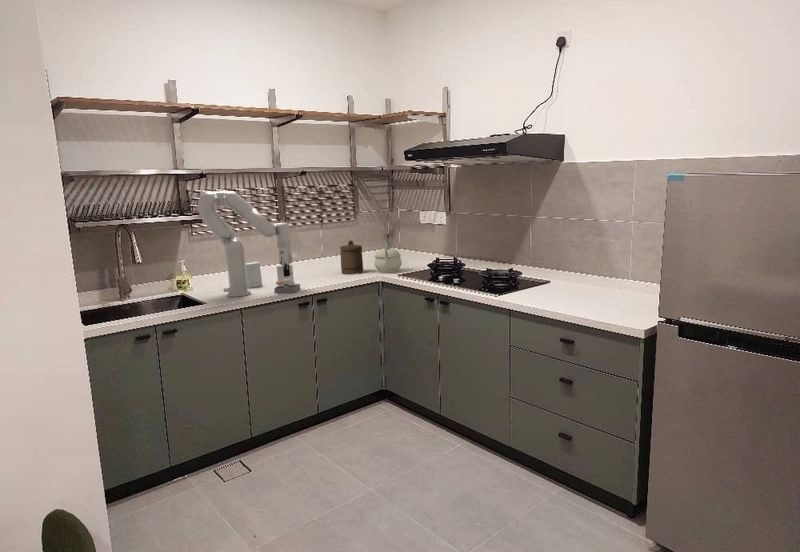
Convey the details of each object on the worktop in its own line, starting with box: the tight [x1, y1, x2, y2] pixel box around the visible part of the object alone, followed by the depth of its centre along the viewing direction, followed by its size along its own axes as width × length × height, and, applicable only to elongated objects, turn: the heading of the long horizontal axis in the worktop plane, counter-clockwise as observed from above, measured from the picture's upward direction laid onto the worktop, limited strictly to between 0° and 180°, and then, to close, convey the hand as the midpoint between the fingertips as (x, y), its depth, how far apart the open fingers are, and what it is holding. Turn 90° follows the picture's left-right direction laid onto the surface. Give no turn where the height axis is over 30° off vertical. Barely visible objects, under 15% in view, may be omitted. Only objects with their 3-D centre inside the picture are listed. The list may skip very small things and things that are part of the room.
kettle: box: [374, 233, 403, 274], centre depth 350 cm, size 25×18×25 cm
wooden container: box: [339, 239, 364, 275], centre depth 355 cm, size 15×15×22 cm
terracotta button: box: [275, 280, 283, 286], centre depth 294 cm, size 4×4×2 cm
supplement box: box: [276, 263, 295, 286], centre depth 316 cm, size 7×7×13 cm
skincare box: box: [245, 261, 263, 289], centre depth 318 cm, size 8×6×15 cm
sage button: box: [288, 281, 296, 286], centre depth 295 cm, size 4×4×2 cm
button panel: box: [273, 283, 301, 294], centre depth 298 cm, size 11×12×3 cm
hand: (287, 276), depth 300 cm, fingers closed
